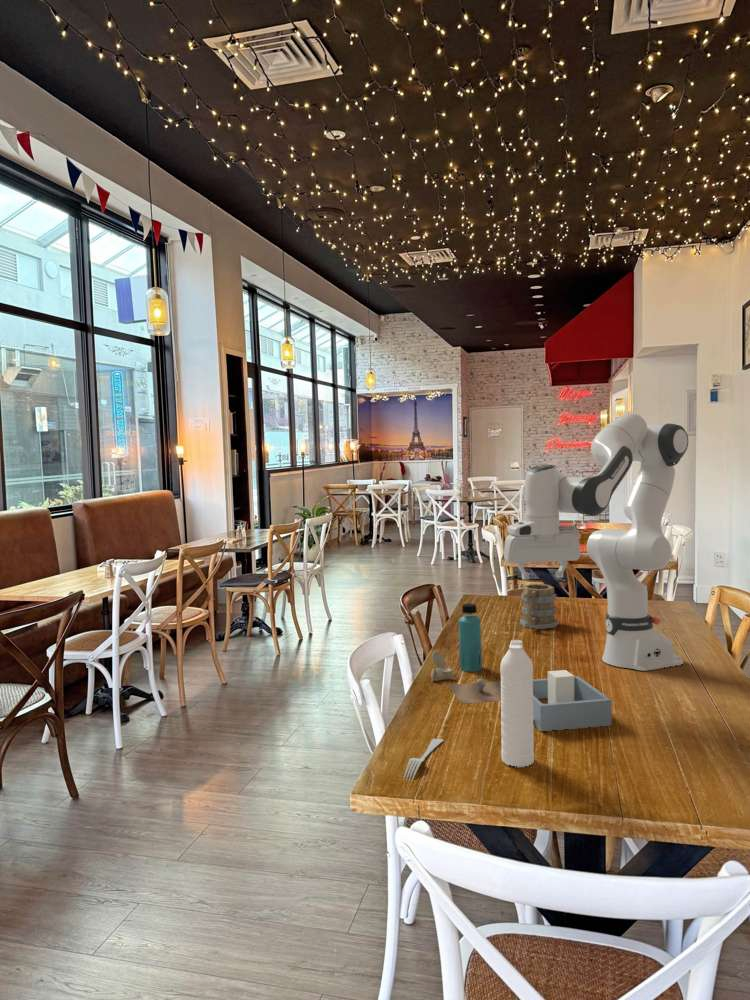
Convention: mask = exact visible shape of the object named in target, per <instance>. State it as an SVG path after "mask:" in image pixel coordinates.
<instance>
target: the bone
mask: <svg viewBox="0 0 750 1000" xmlns="http://www.w3.org/2000/svg"><path fill="white" fill-rule="evenodd" d="M445 659H446V658H445V657H444V655H443V654H441V653H440V652H438V651H436V650H434V651H433V653H432V655H431V660H432V661H433V662H434V663H435V665H436V669H435V668H434V667H433V668H432V670H431V673H430V679H431V680H432V681H433V682H438V681H442V680H454V681H455V679H456V678H455V673H454V672H453V669H451V667H447V668H446V660H445Z"/></svg>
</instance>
